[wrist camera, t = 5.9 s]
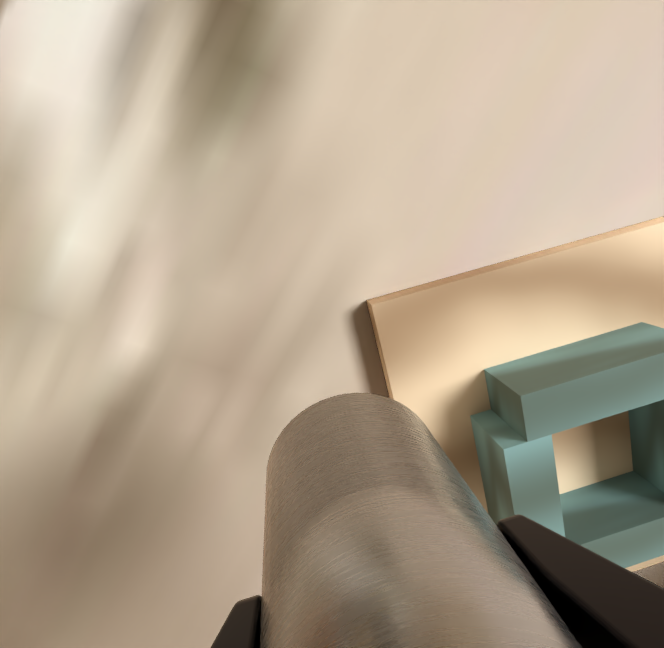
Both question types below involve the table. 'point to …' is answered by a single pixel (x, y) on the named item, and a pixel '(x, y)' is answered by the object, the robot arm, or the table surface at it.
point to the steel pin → (387, 542)
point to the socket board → (517, 326)
